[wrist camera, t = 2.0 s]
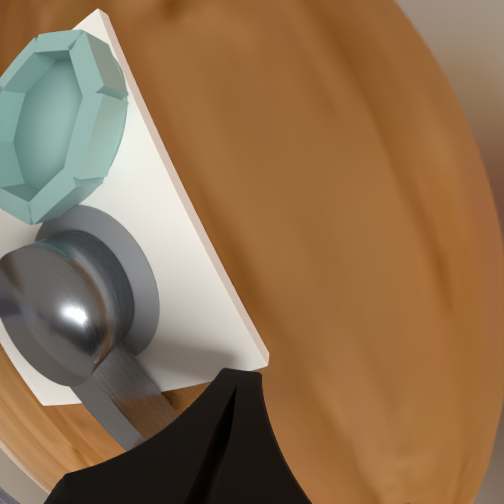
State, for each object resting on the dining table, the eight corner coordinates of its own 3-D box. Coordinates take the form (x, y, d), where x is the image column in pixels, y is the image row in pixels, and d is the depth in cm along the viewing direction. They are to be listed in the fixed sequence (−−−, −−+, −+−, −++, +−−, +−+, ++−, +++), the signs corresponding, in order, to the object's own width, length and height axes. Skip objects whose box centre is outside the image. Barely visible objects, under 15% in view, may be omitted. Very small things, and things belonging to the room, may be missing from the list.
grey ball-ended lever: (28, 259, 10) (-24, 284, 7) (93, 206, 9) (26, 225, 6) (149, 438, 12) (126, 483, 9) (230, 430, 11) (216, 488, 8)
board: (48, 399, 15) (13, 438, 10) (-46, 202, 12) (-93, 216, 7) (269, 353, 11) (256, 450, 6) (107, 15, 8) (38, -28, 3)
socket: (38, 238, 10) (10, 249, 8) (2, 114, 9) (-24, 113, 7) (156, 149, 9) (128, 146, 7) (100, 14, 7) (75, -2, 5)
